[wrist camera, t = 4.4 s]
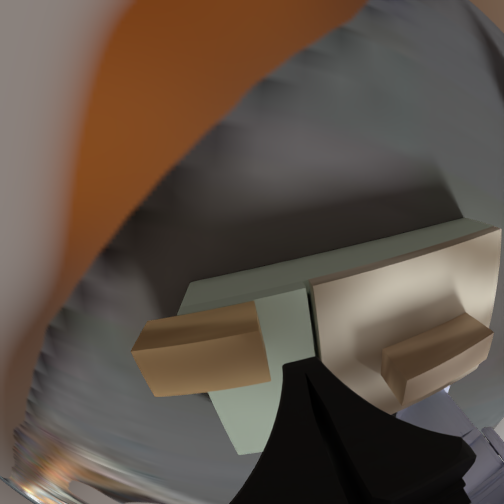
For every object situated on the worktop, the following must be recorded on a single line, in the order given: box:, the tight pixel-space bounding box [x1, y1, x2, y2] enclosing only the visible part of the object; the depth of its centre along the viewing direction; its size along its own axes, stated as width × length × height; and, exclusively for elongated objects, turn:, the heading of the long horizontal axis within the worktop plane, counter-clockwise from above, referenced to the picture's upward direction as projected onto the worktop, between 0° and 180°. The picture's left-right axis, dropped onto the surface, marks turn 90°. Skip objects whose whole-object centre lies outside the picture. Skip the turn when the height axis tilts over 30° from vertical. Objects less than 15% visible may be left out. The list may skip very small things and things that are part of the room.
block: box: [131, 301, 271, 397], centre depth 13 cm, size 3×6×3 cm, turn 102°
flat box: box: [177, 218, 493, 455], centre depth 18 cm, size 14×24×5 cm, turn 102°
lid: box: [308, 226, 501, 415], centre depth 15 cm, size 14×16×4 cm
